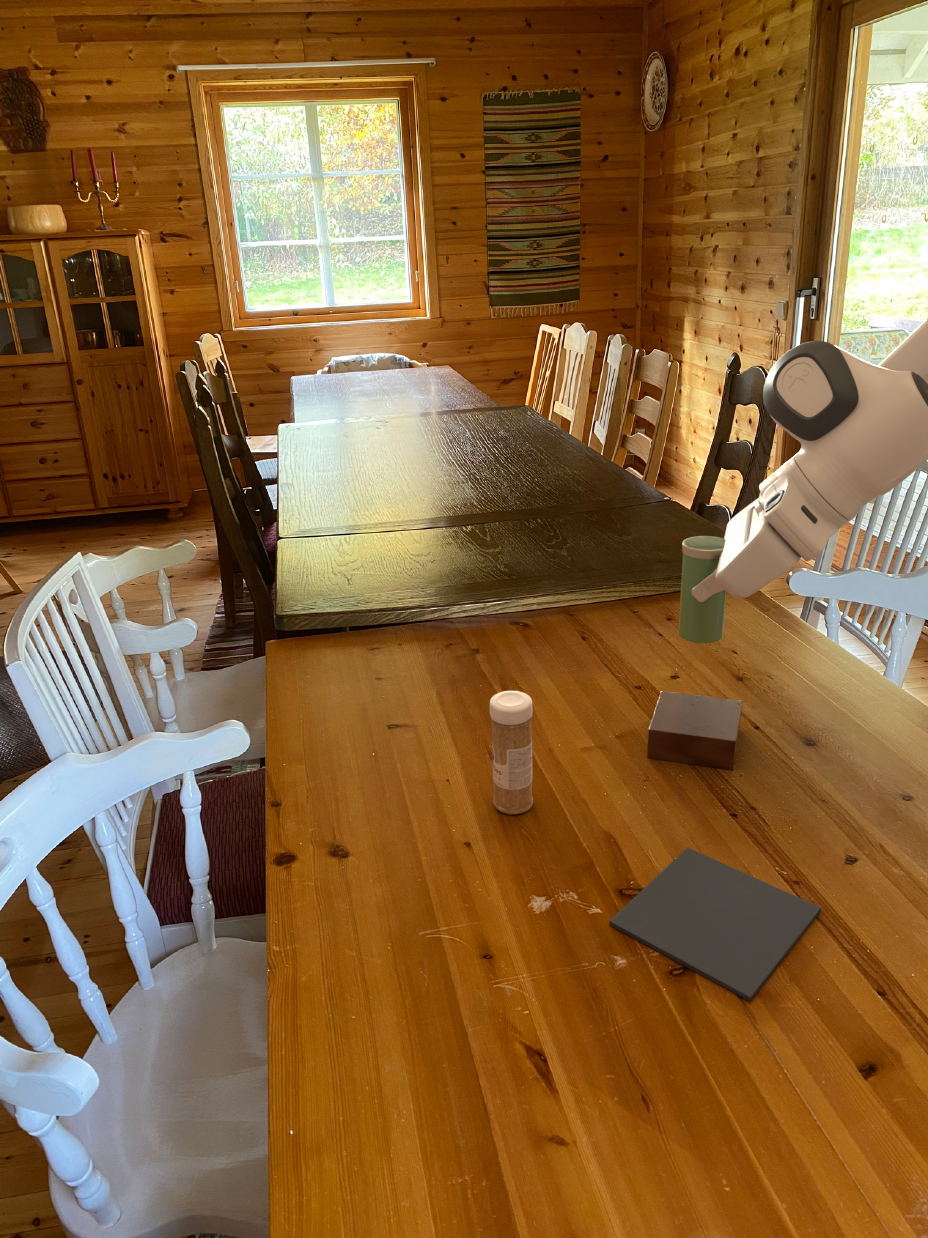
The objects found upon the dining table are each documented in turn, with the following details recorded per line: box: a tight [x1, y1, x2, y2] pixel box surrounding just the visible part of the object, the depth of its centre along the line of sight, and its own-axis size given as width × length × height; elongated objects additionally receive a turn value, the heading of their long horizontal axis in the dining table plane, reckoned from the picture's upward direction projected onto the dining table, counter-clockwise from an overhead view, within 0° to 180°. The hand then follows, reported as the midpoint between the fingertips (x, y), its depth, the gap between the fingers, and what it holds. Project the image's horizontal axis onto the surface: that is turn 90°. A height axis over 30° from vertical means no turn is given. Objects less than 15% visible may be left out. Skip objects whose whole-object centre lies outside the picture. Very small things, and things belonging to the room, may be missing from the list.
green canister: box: [678, 535, 728, 644], centre depth 103 cm, size 5×5×11 cm
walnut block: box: [646, 690, 743, 771], centre depth 112 cm, size 10×10×4 cm
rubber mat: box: [608, 847, 822, 1002], centre depth 85 cm, size 14×14×1 cm
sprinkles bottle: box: [489, 690, 534, 815], centre depth 100 cm, size 5×5×14 cm
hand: (698, 585), depth 103 cm, fingers closed on green canister, 5 cm apart
